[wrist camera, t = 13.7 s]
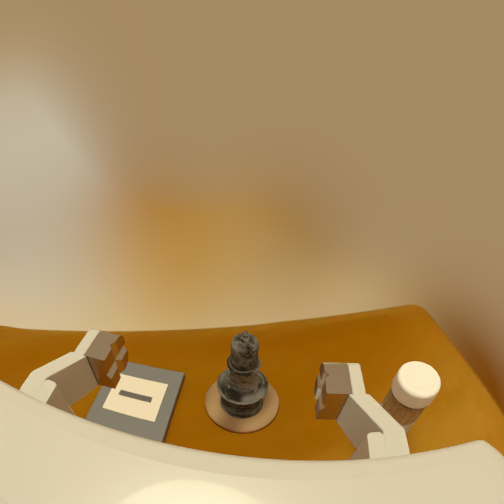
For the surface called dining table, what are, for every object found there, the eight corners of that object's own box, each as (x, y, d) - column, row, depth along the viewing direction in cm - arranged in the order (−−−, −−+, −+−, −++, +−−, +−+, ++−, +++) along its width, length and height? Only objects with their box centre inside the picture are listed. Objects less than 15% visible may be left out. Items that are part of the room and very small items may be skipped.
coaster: (198, 427, 31) (198, 425, 31) (212, 372, 39) (212, 369, 39) (276, 436, 31) (277, 434, 30) (279, 379, 39) (280, 377, 38)
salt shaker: (262, 381, 38) (270, 310, 32) (269, 418, 32) (281, 350, 27) (216, 383, 37) (214, 312, 31) (218, 421, 32) (215, 353, 26)
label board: (55, 493, 19) (51, 490, 19) (118, 362, 39) (116, 357, 38) (138, 527, 19) (135, 525, 18) (184, 376, 38) (184, 371, 38)
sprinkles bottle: (385, 429, 31) (432, 357, 24) (392, 459, 27) (449, 392, 20) (351, 433, 31) (392, 360, 24) (357, 465, 27) (407, 399, 20)
